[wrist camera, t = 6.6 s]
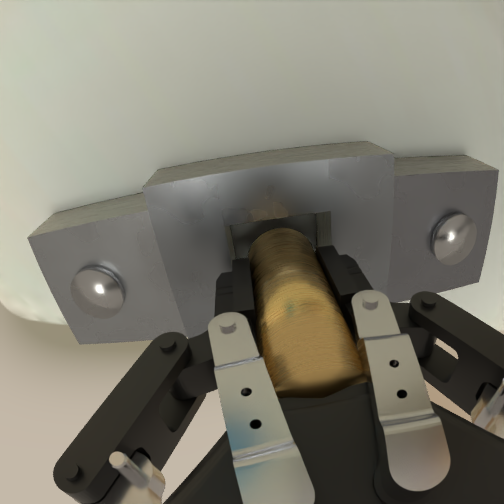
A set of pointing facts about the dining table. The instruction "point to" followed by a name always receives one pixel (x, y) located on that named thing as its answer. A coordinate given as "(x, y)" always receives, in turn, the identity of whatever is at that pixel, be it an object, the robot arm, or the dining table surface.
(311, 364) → the pin
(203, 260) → the grey block with hole
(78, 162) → the dining table surface
